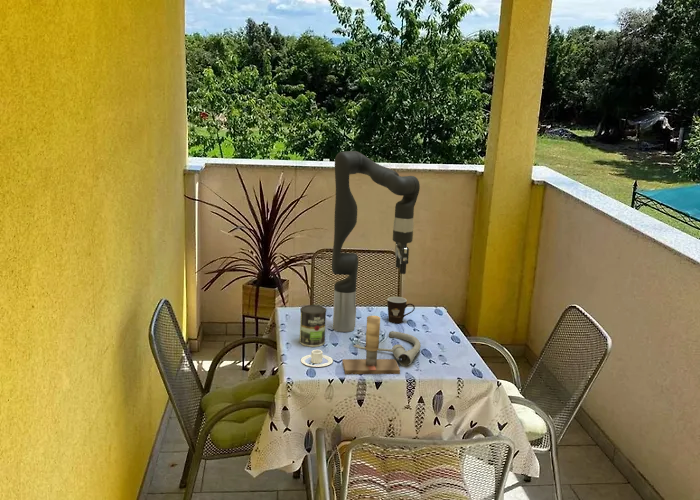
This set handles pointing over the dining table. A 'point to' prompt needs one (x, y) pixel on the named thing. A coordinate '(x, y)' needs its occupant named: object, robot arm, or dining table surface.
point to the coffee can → (312, 325)
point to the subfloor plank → (361, 368)
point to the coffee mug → (397, 309)
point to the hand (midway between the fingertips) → (400, 270)
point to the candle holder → (317, 358)
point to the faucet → (401, 348)
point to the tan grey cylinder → (372, 340)
